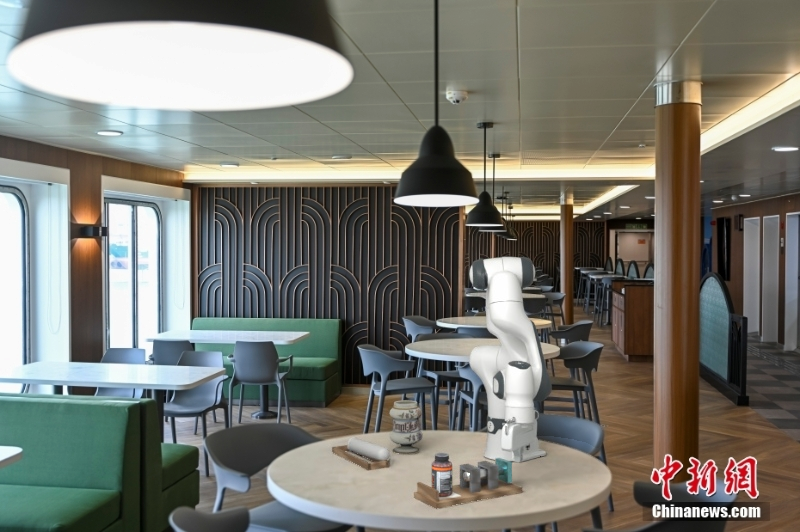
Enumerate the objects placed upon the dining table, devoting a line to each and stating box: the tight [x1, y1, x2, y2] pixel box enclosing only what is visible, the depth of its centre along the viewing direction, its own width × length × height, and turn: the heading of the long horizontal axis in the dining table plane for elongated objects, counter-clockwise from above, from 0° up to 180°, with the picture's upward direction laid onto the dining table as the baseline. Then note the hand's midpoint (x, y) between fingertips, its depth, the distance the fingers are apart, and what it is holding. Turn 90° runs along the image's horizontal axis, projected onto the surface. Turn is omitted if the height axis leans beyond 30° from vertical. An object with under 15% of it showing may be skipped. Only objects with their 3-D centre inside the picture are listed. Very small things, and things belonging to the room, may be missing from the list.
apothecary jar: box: [389, 399, 423, 455], centre depth 267 cm, size 12×12×18 cm
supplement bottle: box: [431, 452, 453, 497], centre depth 209 cm, size 6×6×11 cm
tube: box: [346, 436, 391, 461], centre depth 257 cm, size 5×5×25 cm
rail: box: [413, 460, 523, 510], centre depth 214 cm, size 30×12×8 cm, turn 120°
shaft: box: [463, 458, 513, 483], centre depth 217 cm, size 15×6×6 cm, turn 120°
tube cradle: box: [331, 444, 390, 471], centre depth 256 cm, size 8×28×2 cm, turn 30°
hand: (518, 461), depth 223 cm, fingers closed
